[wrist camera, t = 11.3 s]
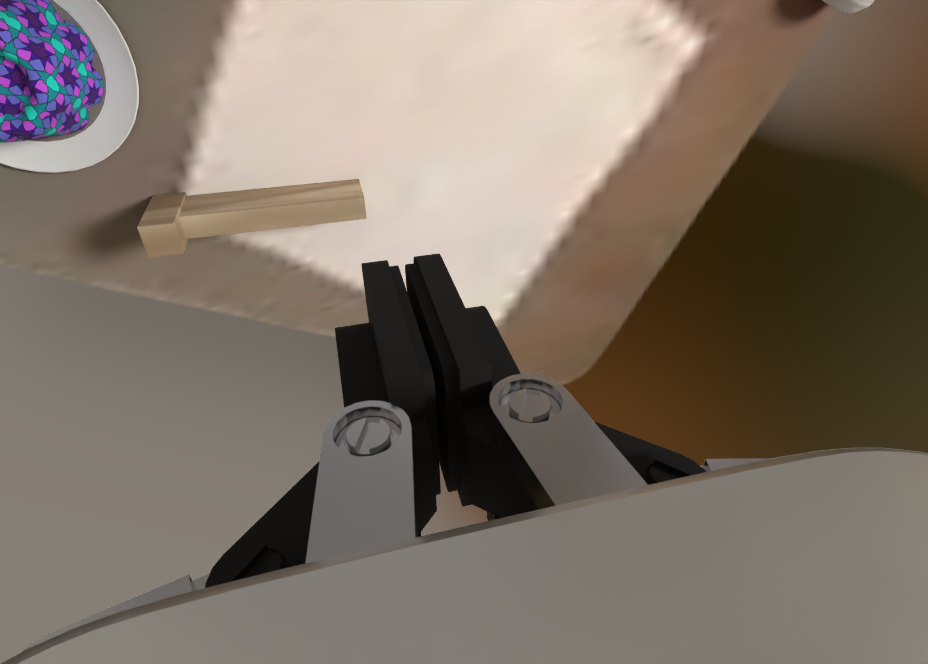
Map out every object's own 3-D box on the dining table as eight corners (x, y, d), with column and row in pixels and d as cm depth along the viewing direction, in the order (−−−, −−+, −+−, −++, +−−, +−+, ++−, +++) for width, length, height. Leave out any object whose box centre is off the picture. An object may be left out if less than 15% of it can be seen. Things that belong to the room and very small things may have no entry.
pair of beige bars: (39, -127, 27) (-2, -136, 23) (321, -125, 30) (326, -133, 26) (162, 223, 38) (148, 257, 34) (361, 202, 41) (369, 231, 37)
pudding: (169, 23, 32) (151, 37, 28) (109, 200, 37) (87, 234, 33) (-103, -127, 26) (-176, -137, 22) (-133, 106, 31) (-198, 133, 27)
